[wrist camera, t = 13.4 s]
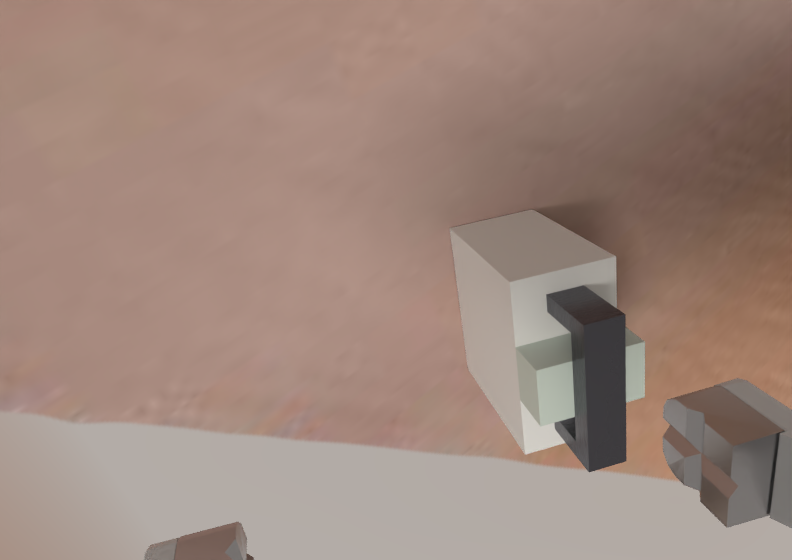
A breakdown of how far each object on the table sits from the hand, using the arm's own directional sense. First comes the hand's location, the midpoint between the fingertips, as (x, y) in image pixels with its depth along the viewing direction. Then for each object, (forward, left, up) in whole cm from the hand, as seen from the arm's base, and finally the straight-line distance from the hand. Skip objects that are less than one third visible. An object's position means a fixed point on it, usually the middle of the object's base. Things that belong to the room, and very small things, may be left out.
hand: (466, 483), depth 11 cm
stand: (-13, +13, -34) cm, 39 cm away
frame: (-13, +13, -22) cm, 29 cm away
